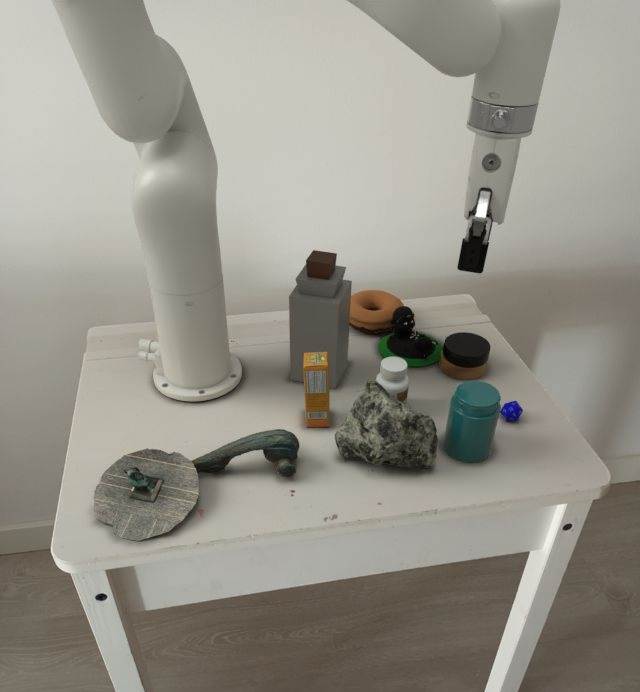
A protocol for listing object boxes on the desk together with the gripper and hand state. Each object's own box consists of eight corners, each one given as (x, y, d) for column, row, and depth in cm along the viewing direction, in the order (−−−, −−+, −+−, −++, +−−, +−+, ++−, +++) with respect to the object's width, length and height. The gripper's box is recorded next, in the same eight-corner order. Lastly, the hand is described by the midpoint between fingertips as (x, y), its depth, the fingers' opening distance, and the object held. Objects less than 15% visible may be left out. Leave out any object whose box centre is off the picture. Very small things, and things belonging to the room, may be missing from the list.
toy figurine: (403, 373, 96) (406, 339, 92) (365, 341, 103) (367, 308, 99) (456, 355, 100) (462, 322, 96) (417, 325, 107) (421, 293, 103)
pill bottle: (403, 422, 88) (409, 375, 83) (371, 418, 88) (375, 370, 83) (407, 403, 91) (413, 356, 86) (375, 399, 92) (379, 352, 87)
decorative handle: (293, 442, 84) (292, 411, 81) (305, 477, 79) (305, 446, 76) (174, 461, 81) (169, 430, 78) (180, 499, 76) (174, 467, 73)
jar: (440, 457, 83) (449, 403, 77) (446, 428, 87) (455, 374, 82) (488, 466, 81) (501, 412, 76) (492, 436, 86) (504, 383, 80)
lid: (439, 363, 95) (440, 352, 94) (445, 339, 100) (447, 329, 99) (486, 371, 94) (488, 360, 93) (490, 346, 99) (492, 336, 97)
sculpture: (90, 466, 78) (117, 422, 74) (160, 479, 84) (190, 438, 80) (97, 551, 71) (128, 506, 67) (174, 559, 76) (207, 518, 72)
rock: (394, 495, 85) (438, 432, 85) (416, 508, 76) (464, 437, 77) (318, 441, 82) (364, 376, 83) (332, 448, 74) (383, 376, 74)
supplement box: (303, 412, 89) (303, 350, 83) (329, 412, 89) (330, 350, 83) (303, 428, 87) (303, 365, 80) (329, 428, 87) (331, 365, 80)
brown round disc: (436, 375, 96) (437, 364, 95) (442, 351, 101) (443, 340, 100) (483, 383, 95) (485, 372, 94) (486, 358, 100) (489, 347, 99)
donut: (341, 316, 101) (341, 338, 104) (406, 317, 101) (404, 339, 104) (343, 285, 109) (343, 306, 112) (403, 286, 109) (401, 307, 111)
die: (516, 428, 87) (505, 413, 86) (503, 423, 90) (493, 408, 88) (529, 413, 88) (519, 398, 86) (516, 409, 90) (506, 394, 89)
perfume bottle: (290, 379, 95) (288, 264, 83) (304, 355, 100) (304, 242, 88) (335, 388, 93) (339, 272, 82) (347, 362, 98) (353, 249, 87)
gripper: (533, 141, 68) (498, 289, 79) (536, 101, 81) (505, 233, 92) (460, 132, 70) (436, 279, 81) (475, 95, 83) (452, 226, 94)
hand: (473, 255), depth 87 cm, fingers open, 9 cm apart
